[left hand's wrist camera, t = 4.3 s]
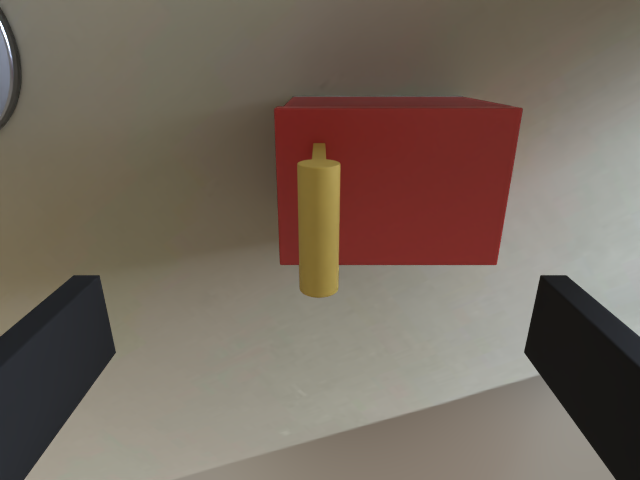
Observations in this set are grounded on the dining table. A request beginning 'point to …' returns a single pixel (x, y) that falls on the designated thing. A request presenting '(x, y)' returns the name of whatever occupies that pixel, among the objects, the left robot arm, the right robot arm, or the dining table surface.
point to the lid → (391, 186)
